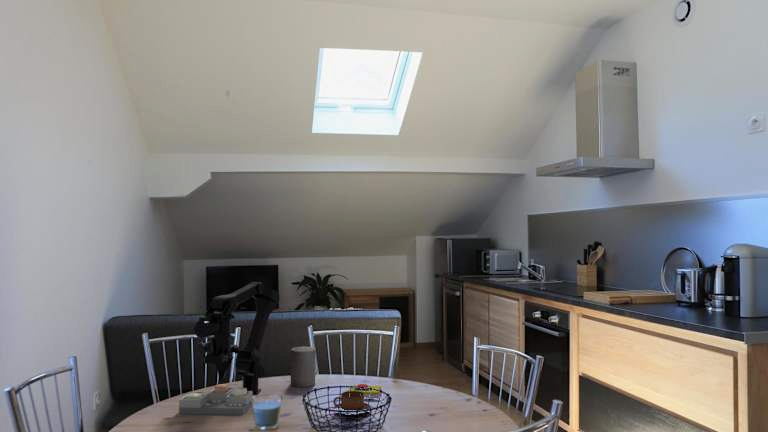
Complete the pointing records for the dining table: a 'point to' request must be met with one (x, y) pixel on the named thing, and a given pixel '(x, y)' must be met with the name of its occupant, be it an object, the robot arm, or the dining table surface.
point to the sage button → (194, 396)
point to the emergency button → (367, 390)
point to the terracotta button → (221, 388)
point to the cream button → (239, 391)
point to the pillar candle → (302, 366)
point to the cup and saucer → (352, 401)
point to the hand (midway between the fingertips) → (221, 379)
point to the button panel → (216, 403)
